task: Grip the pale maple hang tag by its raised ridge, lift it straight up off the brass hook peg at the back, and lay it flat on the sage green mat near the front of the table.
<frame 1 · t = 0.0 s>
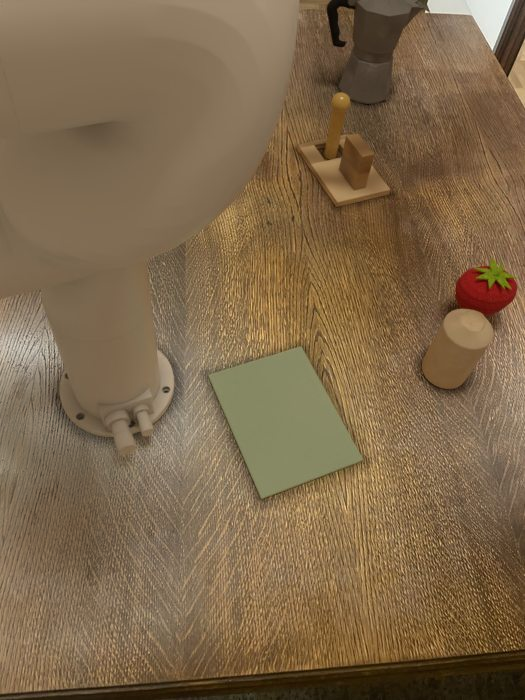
hanger: (330, 155, 95), on the table
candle: (443, 371, 73), on the table
coffeepot: (357, 90, 107), on the table
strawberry: (469, 316, 79), on the table
hook post: (330, 155, 95), on the table
mat: (282, 417, 68), on the table
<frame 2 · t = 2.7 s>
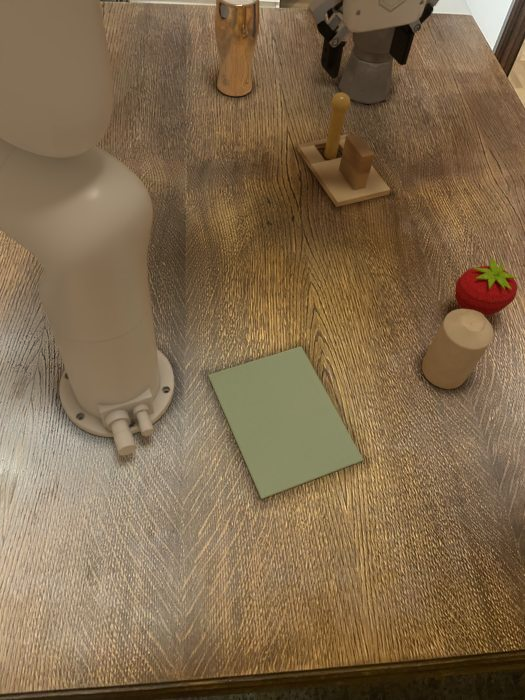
hand: (363, 65, 76), 19 cm above the table, tool pointing down, fingers open, 9 cm apart
nothing on the table moved.
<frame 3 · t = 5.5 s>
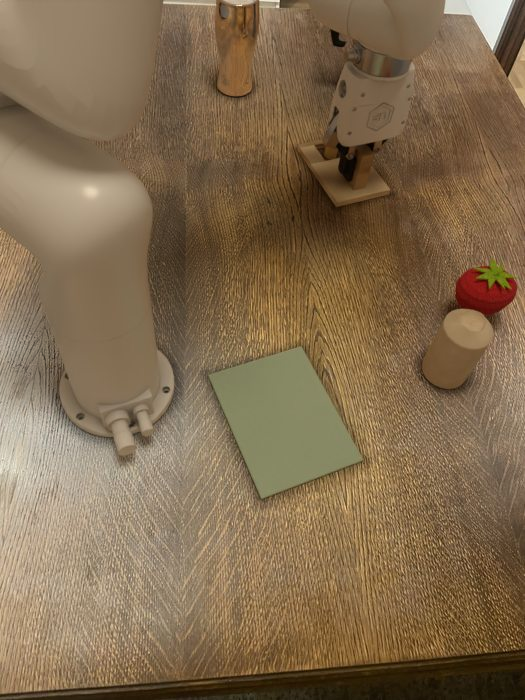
hand: (353, 172, 90), 2 cm above the table, tool pointing down, fingers closed on hanger
hanger: (330, 155, 95), on the table, touching gripper
everything else where it was.
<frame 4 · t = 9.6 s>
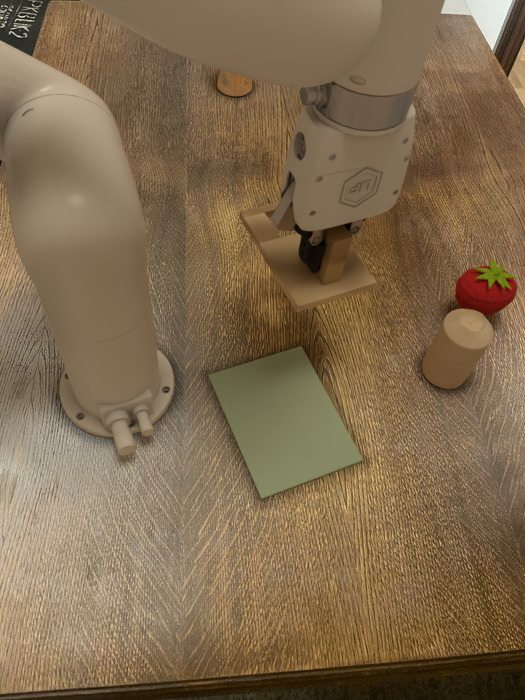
hand: (321, 258, 61), 16 cm above the table, tool pointing down, fingers closed on hanger
hanger: (288, 227, 66), point 14 cm above the table, touching gripper
everything else where it was.
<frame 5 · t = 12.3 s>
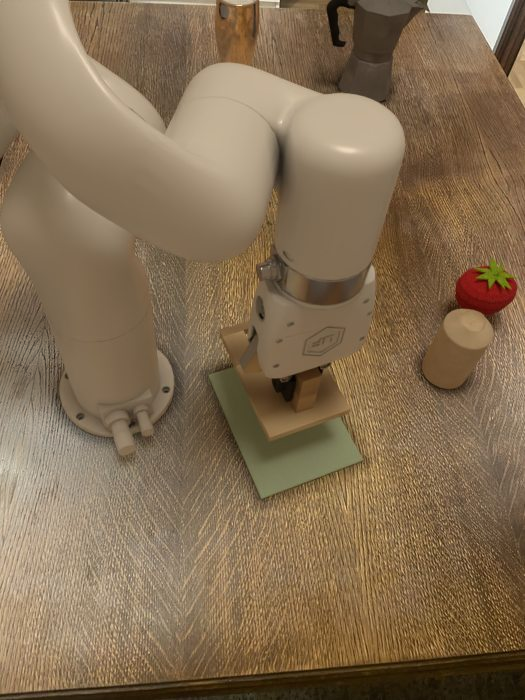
hand: (295, 385, 61), 8 cm above the table, tool pointing down, fingers closed on hanger
hanger: (267, 344, 66), point 6 cm above the table, touching gripper
everything else where it was.
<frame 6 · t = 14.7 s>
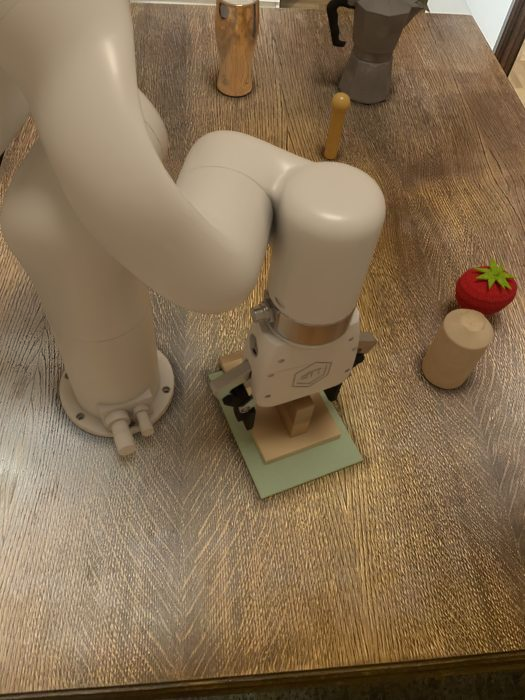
hand: (286, 404, 65), 4 cm above the table, tool pointing down, fingers open, 9 cm apart
hanger: (263, 370, 71), resting on mat
everything else where it was.
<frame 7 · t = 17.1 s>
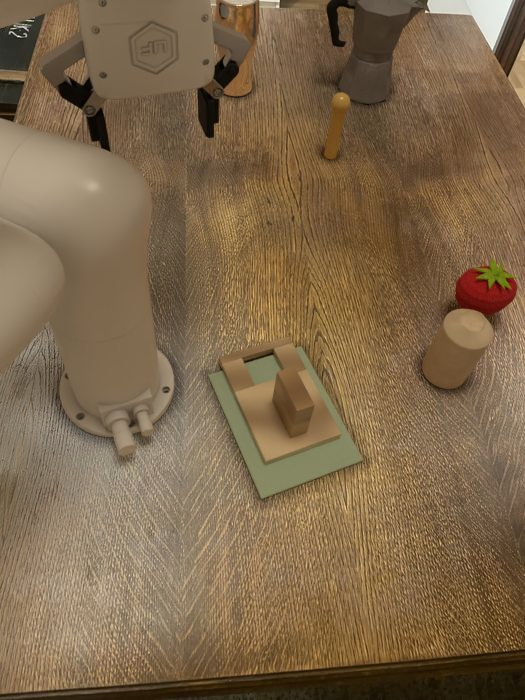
hand: (156, 136, 56), 24 cm above the table, tool pointing down, fingers open, 9 cm apart
nothing on the table moved.
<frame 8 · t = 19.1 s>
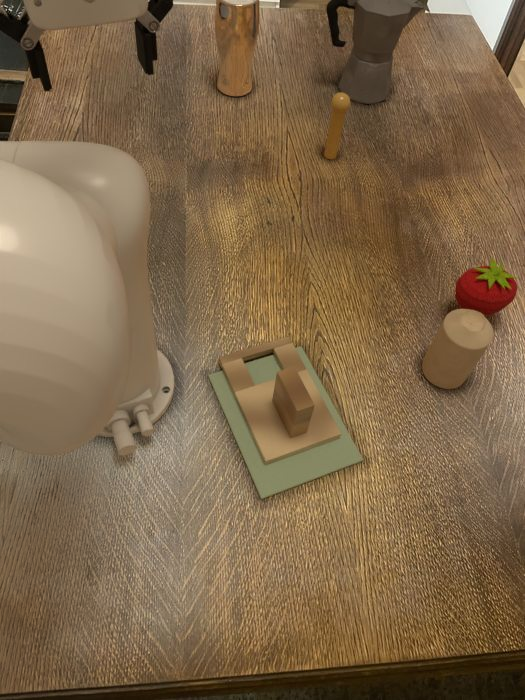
hand: (96, 75, 58), 26 cm above the table, tool pointing down, fingers open, 9 cm apart
nothing on the table moved.
at the end: hanger inside the target area on the mat (0.4 cm from its centre), point 0.4 cm above the mat's base; hanger tilted 0°; the gripper is holding nothing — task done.
